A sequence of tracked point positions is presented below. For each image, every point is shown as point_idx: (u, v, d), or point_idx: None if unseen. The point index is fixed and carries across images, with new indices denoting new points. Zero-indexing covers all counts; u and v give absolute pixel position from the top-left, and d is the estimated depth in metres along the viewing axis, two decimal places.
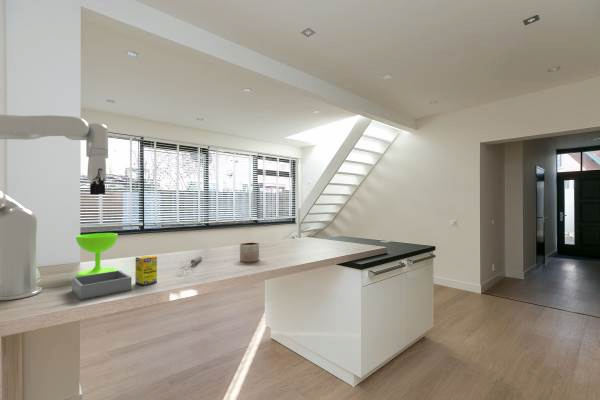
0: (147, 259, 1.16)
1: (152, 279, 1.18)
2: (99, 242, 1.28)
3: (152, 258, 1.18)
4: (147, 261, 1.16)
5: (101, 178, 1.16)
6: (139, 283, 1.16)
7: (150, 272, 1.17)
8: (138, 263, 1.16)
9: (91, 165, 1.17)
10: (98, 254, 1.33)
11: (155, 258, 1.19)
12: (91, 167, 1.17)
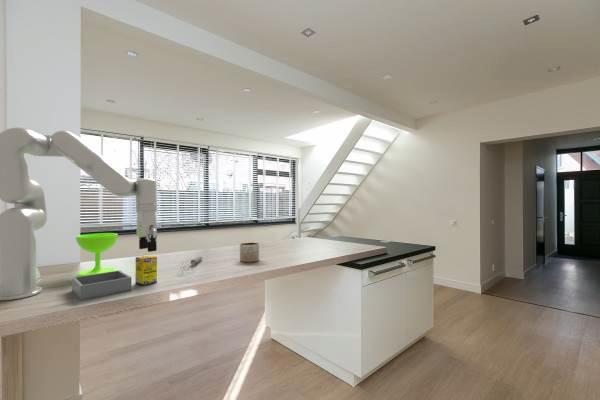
0: (147, 259, 1.16)
1: (152, 279, 1.18)
2: (99, 242, 1.28)
3: (152, 258, 1.18)
4: (147, 261, 1.16)
5: (153, 236, 1.13)
6: (139, 283, 1.16)
7: (150, 273, 1.17)
8: (138, 263, 1.16)
9: (142, 222, 1.14)
10: (98, 254, 1.33)
11: (155, 258, 1.19)
12: (142, 224, 1.14)
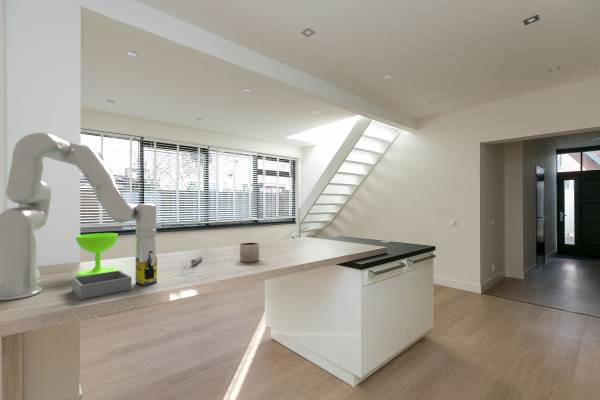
0: None
1: (152, 278, 1.18)
2: (99, 242, 1.28)
3: None
4: None
5: (151, 264, 1.14)
6: (139, 283, 1.16)
7: None
8: (138, 263, 1.16)
9: (142, 248, 1.14)
10: (98, 254, 1.33)
11: None
12: (142, 250, 1.14)
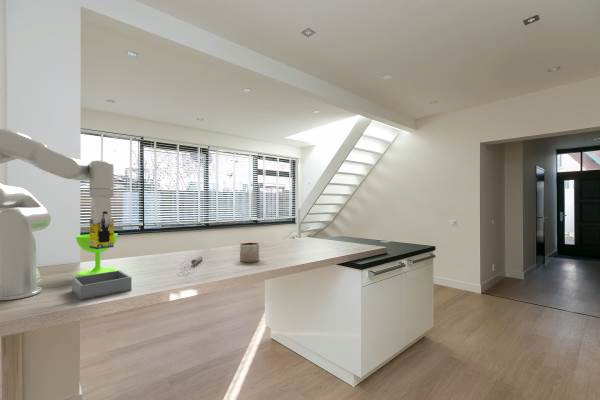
0: None
1: (108, 242, 1.08)
2: None
3: None
4: None
5: (105, 226, 1.04)
6: (93, 246, 1.06)
7: None
8: (92, 225, 1.07)
9: (95, 208, 1.05)
10: (98, 254, 1.33)
11: (111, 220, 1.09)
12: (95, 210, 1.05)
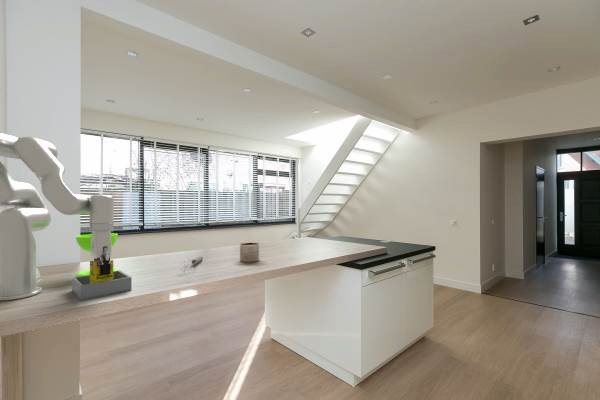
0: None
1: None
2: None
3: None
4: None
5: (106, 259, 1.03)
6: None
7: (105, 278, 1.07)
8: (92, 267, 1.06)
9: (95, 243, 1.05)
10: None
11: (111, 262, 1.09)
12: (95, 245, 1.05)
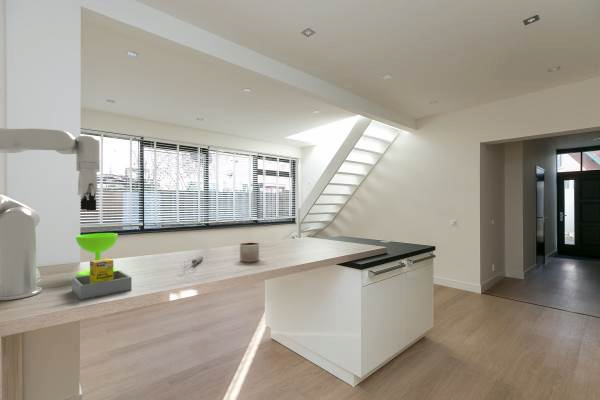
0: (101, 263, 1.06)
1: None
2: (99, 242, 1.28)
3: (107, 262, 1.08)
4: (101, 266, 1.06)
5: (92, 194, 1.10)
6: None
7: (105, 278, 1.07)
8: (92, 267, 1.06)
9: (81, 180, 1.12)
10: (98, 254, 1.33)
11: (111, 262, 1.09)
12: (81, 182, 1.11)
